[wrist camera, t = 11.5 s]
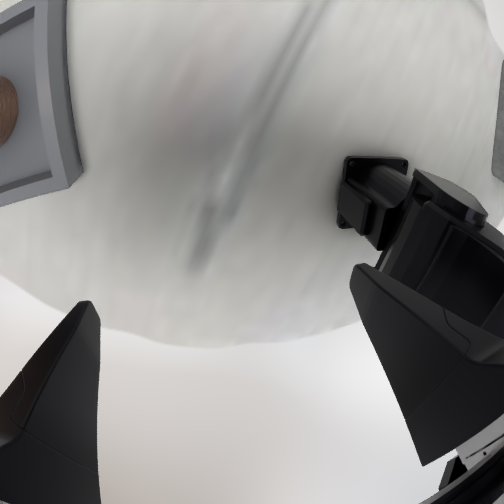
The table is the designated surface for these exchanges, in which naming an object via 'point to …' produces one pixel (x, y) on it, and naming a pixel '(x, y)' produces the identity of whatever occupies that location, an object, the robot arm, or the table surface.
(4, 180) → the fill tray
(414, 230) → the robot arm
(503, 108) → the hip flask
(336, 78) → the table surface
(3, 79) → the copper bottle
